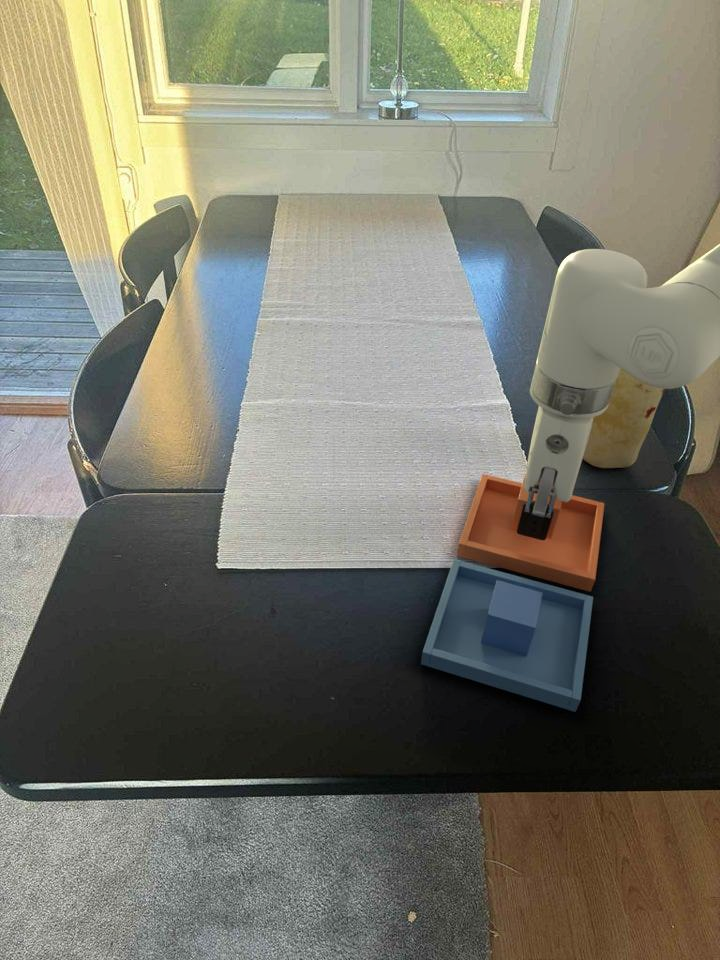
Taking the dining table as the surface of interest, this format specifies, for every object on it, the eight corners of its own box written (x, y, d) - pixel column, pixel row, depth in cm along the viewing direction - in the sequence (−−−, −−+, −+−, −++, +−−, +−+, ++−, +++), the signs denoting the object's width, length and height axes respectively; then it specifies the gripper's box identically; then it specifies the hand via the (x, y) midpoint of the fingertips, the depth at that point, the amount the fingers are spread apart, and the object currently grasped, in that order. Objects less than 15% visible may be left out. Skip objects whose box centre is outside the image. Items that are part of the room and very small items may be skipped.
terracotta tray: (600, 515, 83) (604, 502, 82) (590, 592, 74) (595, 579, 73) (480, 485, 87) (482, 473, 85) (456, 555, 78) (458, 543, 76)
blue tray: (588, 609, 73) (593, 596, 71) (575, 712, 63) (580, 700, 62) (451, 571, 76) (453, 558, 75) (420, 664, 67) (422, 651, 66)
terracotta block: (556, 512, 80) (565, 483, 77) (551, 539, 77) (560, 509, 74) (517, 503, 81) (524, 473, 78) (510, 528, 78) (518, 499, 75)
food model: (643, 460, 91) (697, 322, 78) (619, 484, 88) (671, 343, 75) (577, 428, 96) (617, 293, 83) (552, 449, 93) (589, 312, 79)
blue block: (533, 621, 70) (542, 592, 68) (526, 656, 67) (535, 628, 64) (489, 608, 72) (496, 579, 69) (480, 643, 68) (487, 614, 65)
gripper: (605, 443, 60) (558, 582, 72) (618, 349, 72) (576, 481, 84) (518, 424, 62) (486, 563, 74) (545, 335, 74) (514, 467, 86)
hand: (534, 518), depth 79 cm, fingers closed on terracotta block, 4 cm apart
